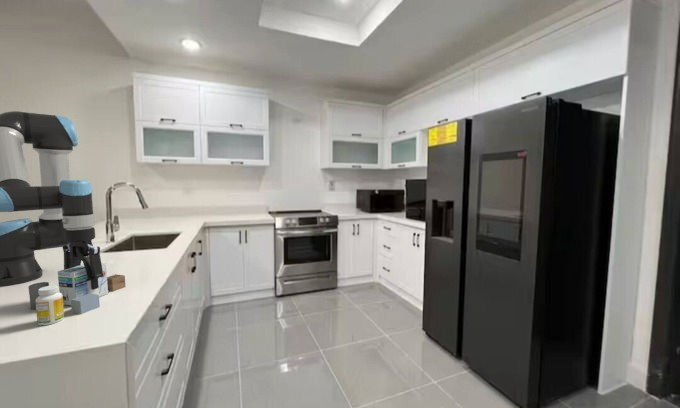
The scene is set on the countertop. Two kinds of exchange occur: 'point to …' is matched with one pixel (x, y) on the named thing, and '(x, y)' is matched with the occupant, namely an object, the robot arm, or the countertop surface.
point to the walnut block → (116, 282)
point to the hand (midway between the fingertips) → (85, 297)
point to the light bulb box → (79, 283)
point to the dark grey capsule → (35, 293)
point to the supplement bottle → (49, 305)
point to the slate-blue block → (85, 303)
